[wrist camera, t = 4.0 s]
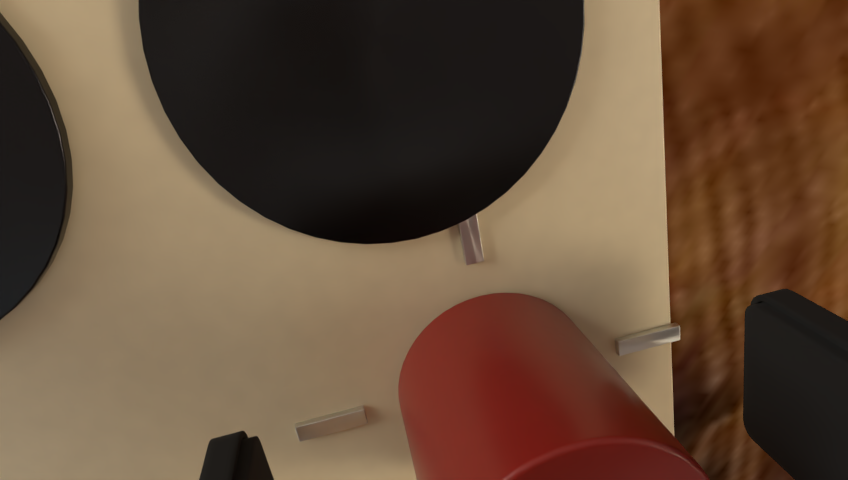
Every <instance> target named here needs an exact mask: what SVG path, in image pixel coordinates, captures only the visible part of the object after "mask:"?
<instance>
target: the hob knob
mask: <svg viewBox="0 0 848 480" xmlns="http://www.w3.org/2000/svg"><path fill="white" fill-rule="evenodd" d="M398 397H399V403H400V409H401V413H402V418H403V422H404V426H405V431H406V435H407V439H408V444H409V448H410V452H411V457H412V461H413V466H414V470H415V474H416V479H417V480H710V479H709V477H708V476H707V475H706V473H705V472H704V470H703V469H702V468H701V466H700V465H699V464H698V463H697V462H696V461H695V459H694V458H693V457H692V456H691V455H690V454H689V453H688V452H687V450H686V449H685V448H684V447H683V446H682V445H681V444H680V443H679V441H678V440H677V439H676V438H675V437H674V436H673V435H672V433H671V432H670V431H669V430H668V429H667V428H666V427H665V426H664V424H663V423H662V422H661V421H660V420H659V419H658V418H657V416H656V415H655V414H654V413H653V412H652V411H651V410H650V409H649V407H648V406H647V405H646V404H645V403H644V402H643V401H642V400H641V398H640V397H639V396H638V395H637V394H636V393H635V392H634V390H633V389H632V388H631V387H630V386H629V385H628V384H627V383H626V381H625V380H624V379H623V378H622V377H621V376H620V375H619V374H618V372H617V371H616V370H615V369H614V368H613V367H612V366H611V364H610V363H609V362H608V361H607V360H606V359H605V358H604V357H603V355H602V354H601V353H600V352H599V351H598V350H597V349H596V347H595V346H594V345H593V344H592V343H591V342H590V341H589V340H588V338H587V337H586V336H585V335H584V334H583V333H582V332H581V331H580V329H579V328H578V327H577V326H576V325H575V324H574V323H573V321H572V320H571V319H570V318H569V317H568V316H567V315H566V314H565V313H564V312H563V311H561V310H560V309H558V308H557V307H556V306H554V305H553V304H551V303H549V302H547V301H545V300H543V299H540V298H537V297H534V296H530V295H525V294H520V293H492V294H487V295H482V296H478V297H475V298H471V299H468V300H466V301H464V302H461V303H459V304H457V305H455V306H453V307H451V308H450V309H448V310H446V311H445V312H443V313H442V314H440V315H439V316H438V317H437V318H435V319H434V320H433V321H432V322H431V323H430V324H429V325H428V326H427V327H426V328H424V330H423V331H422V332H421V333H420V334H419V336H418V337H417V338H416V340H415V341H414V343H413V344H412V346H411V348H410V349H409V351H408V353H407V355H406V358H405V360H404V362H403V365H402V369H401V372H400V377H399V384H398Z"/></svg>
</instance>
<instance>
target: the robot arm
mask: <svg viewBox="0 0 848 480" xmlns="http://www.w3.org/2000/svg"><path fill="white" fill-rule="evenodd" d="M743 421H744V426H745V428H746V431H747V433H748V434H749V436H750V437H751V438H752V439H753V441H755V442H756V443H757V444H758V445H759V446H760V447H761V448H762V449H763V450H764V451H765V452H766V453H767V454H768V455H770V456H771V457H772V458H773V459H774V460H775V461H776V462H777V463H778V464H779V465H780V466H781V467H782V468H783V469H784V470H786V471H787V472H788V473H789V474H790V475H791V476H792V477H793V478H794V479H795V480H848V321H846V320H845V319H843V318H841V317H839V316H837V315H835V314H834V313H832V312H830V311H828V310H826V309H825V308H823V307H821V306H819V305H817V304H815V303H814V302H812V301H810V300H808V299H806V298H804V297H803V296H801V295H799V294H797V293H795V292H793V291H791V290H788V289H781V290H777V291H774V292H770V293H766V294H762V295H758V296H756V297H754V298H753V300H752V302H751V306H749V307H747V309H746V311H745V342H744V403H743ZM199 480H274V478H273V475H272V473H271V470H270V467H269V464H268V461H267V458H266V456H265V453H264V450H263V447H262V444H261V442H260V439H259V438H258V436H254V437H250V438H248V436H247V434H246V433H245V431H239V432H236V433H232V434H228V435H224V436H220V437H216V438H213V439H211V440H210V441H209V444H208V447H207V451H206V455H205V459H204V463H203V467H202V471H201V474H200V478H199Z"/></svg>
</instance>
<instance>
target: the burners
mask: <svg viewBox="0 0 848 480" xmlns="http://www.w3.org/2000/svg"><path fill="white" fill-rule="evenodd" d="M138 11H139V24H140V31H141V38H142V45H143V51H144V55H145V59H146V62H147V66H148V70H149V73H150V77H151V80H152V83H153V86H154V88H155V91H156V93H157V95H158V98H159V100H160V103H161V105H162V107H163V110H164V112H165V114H166V115H167V117H168V119H169V121H170V122H171V124H172V126H173V128H174V129H175V131H176V133H177V135H178V136H179V138H180V139H181V141H182V142H183V144H184V145H185V146H186V148H187V149H188V150H189V152H190V153H191V154H192V156H193V157H194V158H195V160H196V161H197V162H198V163H199V164H200V165H201V167H202V168H203V169H204V170H205V171H206V172H207V173H208V174H209V175H210V176H211V177H212V178H213V179H214V180H215V181H216V182H217V183H218V184H219V185H220V186H221V187H223V188H224V189H225V190H226V191H227V192H229V193H230V194H231V195H232V196H234V197H235V198H236V199H237V200H238V201H240V202H241V203H243V204H244V205H246V206H247V207H249V208H251V209H252V210H254V211H255V212H257V213H258V214H260V215H262V216H263V217H265V218H267V219H269V220H271V221H273V222H276V223H278V224H280V225H282V226H284V227H286V228H288V229H291V230H294V231H297V232H300V233H303V234H306V235H309V236H312V237H315V238H320V239H325V240H330V241H335V242H341V243H354V244H384V243H395V242H401V241H407V240H413V239H418V238H421V237H424V236H428V235H431V234H434V233H438V232H441V231H443V230H445V229H448V228H450V227H452V226H454V225H457V224H459V223H461V222H464V221H465V220H467V219H469V218H470V217H472V216H474V215H475V214H477V213H479V212H480V211H482V210H484V209H485V208H487V207H488V206H490V205H491V204H492V203H493V202H495V201H496V200H497V199H499V198H500V197H501V196H502V195H504V194H505V193H506V192H507V191H508V190H509V189H510V188H511V187H512V186H513V185H515V184H516V183H517V182H518V181H519V180H520V179H521V178H522V177H523V176H524V175H525V174H526V172H527V171H528V170H529V169H530V167H531V166H532V165H533V164H534V162H535V161H536V160H537V159H538V157H539V156H540V155H541V153H542V152H543V150H544V149H545V147H546V145H547V144H548V142H549V141H550V139H551V137H552V136H553V134H554V133H555V131H556V129H557V127H558V125H559V123H560V120H561V118H562V116H563V114H564V112H565V110H566V108H567V105H568V102H569V99H570V96H571V94H572V91H573V88H574V85H575V82H576V78H577V73H578V69H579V64H580V59H581V55H582V46H583V36H584V26H585V16H584V0H138ZM72 194H73V172H72V157H71V152H70V146H69V141H68V136H67V131H66V128H65V125H64V122H63V119H62V116H61V113H60V110H59V107H58V104H57V101H56V98H55V96H54V94H53V92H52V90H51V88H50V86H49V84H48V82H47V80H46V78H45V76H44V74H43V71H42V70H41V68H40V66H39V65H38V63H37V62H36V60H35V59H34V57H33V55H32V54H31V52H30V51H29V49H28V48H27V46H26V44H25V43H24V41H23V40H22V39H21V37H20V36H19V35H18V34H17V32H16V31H15V30H14V29H13V27H12V26H11V25H10V24H9V22H8V21H7V20H6V19H5V18H4V16H3V15H2V14H1V13H0V320H1V319H2V318H4V317H5V316H6V315H7V314H9V313H10V312H11V311H12V310H13V309H15V308H16V307H17V306H18V305H19V304H20V303H21V302H22V301H23V300H24V299H25V298H26V297H27V296H28V295H29V294H30V293H31V292H32V290H33V289H34V288H35V287H36V286H37V285H38V284H39V283H40V281H41V280H42V278H43V277H44V275H45V274H46V272H47V271H48V269H49V268H50V266H51V265H52V263H53V261H54V259H55V257H56V255H57V253H58V250H59V248H60V246H61V244H62V241H63V239H64V236H65V232H66V228H67V225H68V221H69V217H70V213H71V203H72Z"/></svg>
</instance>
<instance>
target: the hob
mask: <svg viewBox="0 0 848 480" xmlns="http://www.w3.org/2000/svg"><path fill="white" fill-rule="evenodd" d="M0 13H1V14H2V15H3V16H4V18H5V19H6V20H7V21H8V22H9V24H10V25H11V26H12V27H13V29H14V30H15V31H16V32H17V34H18V35H19V36H20V37H21V39H22V40H23V41H24V43H25V44H26V46H27V48H28V49H29V51H30V52H31V54H32V55H33V57H34V59H35V60H36V62H37V63H38V65H39V66H40V68H41V70H42V71H43V74H44V76H45V78H46V80H47V82H48V84H49V86H50V88H51V90H52V92H53V94H54V96H55V98H56V101H57V104H58V107H59V110H60V113H61V116H62V119H63V122H64V125H65V128H66V131H67V136H68V141H69V146H70V152H71V157H72V172H73V194H72V203H71V213H70V217H69V221H68V225H67V228H66V232H65V236H64V239H63V241H62V244H61V246H60V248H59V250H58V253H57V255H56V257H55V259H54V261H53V263H52V265H51V266H50V268H49V269H48V271H47V272H46V274H45V275H44V277H43V278H42V280H41V281H40V283H39V284H38V285H37V286H36V287H35V288H34V289H33V290H32V292H31V293H30V294H29V295H28V296H27V297H26V298H25V299H24V300H23V301H22V302H21V303H20V304H19V305H18V306H17V307H16V308H15V309H13V310H12V311H11V312H10V313H9V314H7V315H6V316H5V317H4V318H2V319H1V320H0V480H199V478H200V474H201V471H202V467H203V463H204V459H205V455H206V451H207V447H208V444H209V441H210V440H211V439H213V438H216V437H220V436H224V435H228V434H232V433H236V432H239V431H245V433H246V434H247V436H248V438H250V437H254V436H258V438H259V439H260V442H261V444H262V447H263V450H264V453H265V456H266V458H267V461H268V464H269V467H270V470H271V473H272V475H273V478H274V480H417V479H416V474H415V470H414V466H413V461H412V457H411V452H410V448H409V444H408V439H407V435H406V431H405V426H404V422H403V418H402V413H401V409H400V403H399V397H398V384H399V377H400V372H401V369H402V365H403V362H404V360H405V358H406V355H407V353H408V351H409V349H410V348H411V346H412V344H413V343H414V341H415V340H416V338H417V337H418V336H419V334H420V333H421V332H422V331H423V330H424V328H426V327H427V326H428V325H429V324H430V323H431V322H432V321H433V320H434V319H435V318H437V317H438V316H439V315H440V314H442V313H443V312H445V311H446V310H448V309H450V308H451V307H453V306H455V305H457V304H459V303H461V302H464V301H466V300H468V299H471V298H475V297H478V296H482V295H487V294H492V293H520V294H525V295H530V296H534V297H537V298H540V299H543V300H545V301H547V302H549V303H551V304H553V305H554V306H556V307H557V308H558V309H560V310H561V311H563V312H564V313H565V314H566V315H567V316H568V317H569V318H570V319H571V320H572V321H573V323H574V324H575V325H576V326H577V327H578V328H579V329H580V331H581V332H582V333H583V334H584V335H585V336H586V337H587V338H588V340H589V341H590V342H591V343H592V344H593V345H594V346H595V347H596V349H597V350H598V351H599V352H600V353H601V354H602V355H603V357H604V358H605V359H606V360H607V361H608V362H609V363H610V364H611V366H612V367H613V368H614V369H615V370H616V371H617V372H618V374H619V375H620V376H621V377H622V378H623V379H624V380H625V381H626V383H627V384H628V385H629V386H630V387H631V388H632V389H633V390H634V392H635V393H636V394H637V395H638V396H639V397H640V398H641V400H642V401H643V402H644V403H645V404H646V405H647V406H648V407H649V409H650V410H651V411H652V412H653V413H654V414H655V415H656V416H657V418H658V419H659V420H660V421H661V422H662V423H663V424H664V426H665V427H666V428H667V429H668V430H669V431H670V432H671V433H672V435H673V436H674V413H673V383H672V354H671V342H674V341H678V340H680V325H678V324H677V323H672V324H670V296H669V266H668V237H667V208H666V179H665V149H664V120H663V91H662V62H661V32H660V3H659V0H584V16H585V26H584V36H583V46H582V55H581V59H580V64H579V69H578V73H577V78H576V82H575V85H574V88H573V91H572V94H571V96H570V99H569V102H568V105H567V108H566V110H565V112H564V114H563V116H562V118H561V120H560V123H559V125H558V127H557V129H556V131H555V133H554V134H553V136H552V137H551V139H550V141H549V142H548V144H547V145H546V147H545V149H544V150H543V152H542V153H541V155H540V156H539V157H538V159H537V160H536V161H535V162H534V164H533V165H532V166H531V167H530V169H529V170H528V171H527V172H526V174H525V175H524V176H523V177H522V178H521V179H520V180H519V181H518V182H517V183H516V184H515V185H513V186H512V187H511V188H510V189H509V190H508V191H507V192H506V193H505V194H504V195H502V196H501V197H500V198H499V199H497V200H496V201H495V202H493V203H492V204H491V205H490V206H488V207H487V208H485V209H484V210H482V211H480V212H479V213H477V214H475V215H474V216H472V217H470V218H469V219H467V220H465V221H464V222H461V223H459V224H457V225H454V226H452V227H450V228H448V229H445V230H443V231H441V232H438V233H434V234H431V235H428V236H424V237H421V238H418V239H413V240H407V241H401V242H395V243H384V244H354V243H341V242H335V241H330V240H325V239H320V238H315V237H312V236H309V235H306V234H303V233H300V232H297V231H294V230H291V229H288V228H286V227H284V226H282V225H280V224H278V223H276V222H273V221H271V220H269V219H267V218H265V217H263V216H262V215H260V214H258V213H257V212H255V211H254V210H252V209H251V208H249V207H247V206H246V205H244V204H243V203H241V202H240V201H238V200H237V199H236V198H235V197H234V196H232V195H231V194H230V193H229V192H227V191H226V190H225V189H224V188H223V187H221V186H220V185H219V184H218V183H217V182H216V181H215V180H214V179H213V178H212V177H211V176H210V175H209V174H208V173H207V172H206V171H205V170H204V169H203V168H202V167H201V165H200V164H199V163H198V162H197V161H196V160H195V158H194V157H193V156H192V154H191V153H190V152H189V150H188V149H187V148H186V146H185V145H184V144H183V142H182V141H181V139H180V138H179V136H178V135H177V133H176V131H175V129H174V128H173V126H172V124H171V122H170V121H169V119H168V117H167V115H166V114H165V112H164V110H163V107H162V105H161V103H160V100H159V98H158V95H157V93H156V91H155V88H154V86H153V83H152V80H151V77H150V73H149V70H148V66H147V62H146V59H145V55H144V51H143V45H142V38H141V31H140V24H139V11H138V0H0Z"/></svg>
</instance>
